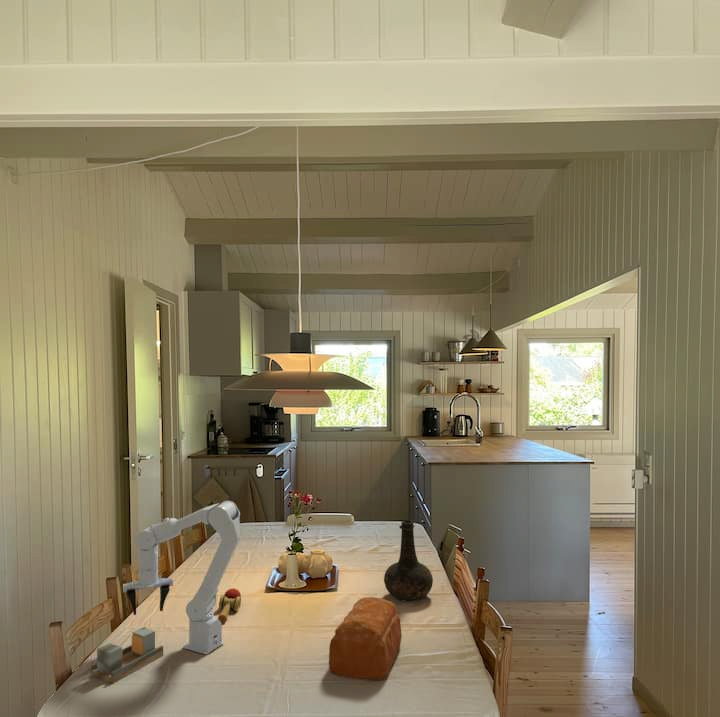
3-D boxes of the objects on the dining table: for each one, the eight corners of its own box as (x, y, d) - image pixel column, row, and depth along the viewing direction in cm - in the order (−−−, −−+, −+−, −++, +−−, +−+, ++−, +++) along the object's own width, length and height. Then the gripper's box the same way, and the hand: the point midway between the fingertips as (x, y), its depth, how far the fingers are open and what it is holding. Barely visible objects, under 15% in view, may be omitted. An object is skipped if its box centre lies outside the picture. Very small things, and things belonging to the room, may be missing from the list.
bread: (325, 675, 171) (325, 621, 171) (350, 637, 195) (350, 590, 195) (385, 684, 167) (385, 628, 167) (403, 644, 190) (403, 596, 190)
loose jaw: (154, 651, 181) (155, 631, 181) (141, 657, 177) (142, 636, 177) (144, 647, 184) (144, 627, 184) (130, 653, 180) (131, 632, 180)
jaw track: (163, 655, 182) (163, 629, 182) (113, 683, 166) (113, 655, 166) (141, 648, 186) (141, 623, 186) (90, 675, 170) (90, 648, 170)
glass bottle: (436, 591, 234) (436, 517, 234) (427, 609, 217) (427, 529, 217) (391, 586, 239) (391, 513, 240) (378, 603, 222) (378, 525, 223)
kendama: (236, 627, 205) (246, 598, 223) (232, 609, 204) (243, 582, 222) (213, 630, 205) (225, 602, 223) (209, 613, 205) (222, 586, 222)
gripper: (123, 574, 184) (123, 620, 184) (174, 568, 190) (174, 613, 190) (122, 567, 191) (122, 611, 191) (171, 561, 196) (171, 604, 196)
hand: (148, 611), depth 191 cm, fingers open, 7 cm apart
